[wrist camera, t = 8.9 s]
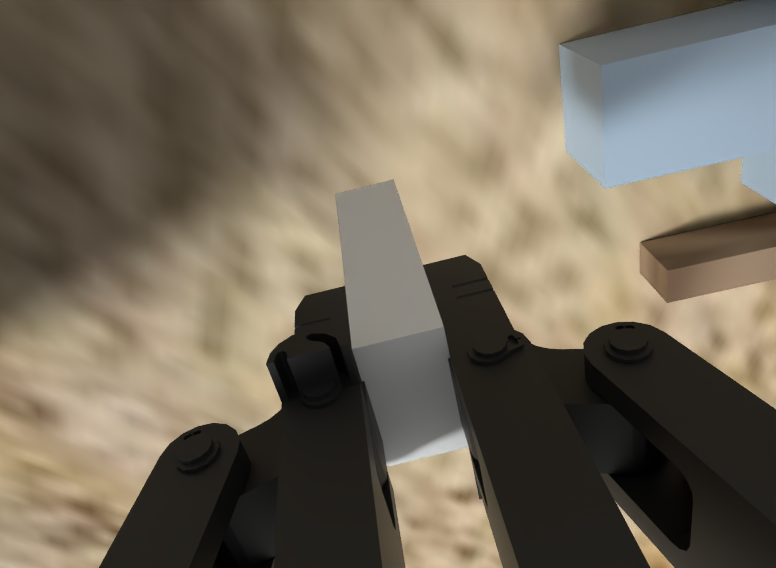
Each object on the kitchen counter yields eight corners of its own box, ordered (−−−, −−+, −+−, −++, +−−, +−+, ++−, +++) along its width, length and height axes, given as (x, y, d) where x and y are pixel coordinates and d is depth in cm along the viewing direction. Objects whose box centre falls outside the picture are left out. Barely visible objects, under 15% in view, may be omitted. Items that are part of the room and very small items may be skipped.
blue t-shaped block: (570, 220, 25) (607, 265, 22) (551, -50, 20) (597, -46, 17) (813, 165, 25) (890, 202, 22) (856, -124, 20) (965, -135, 17)
